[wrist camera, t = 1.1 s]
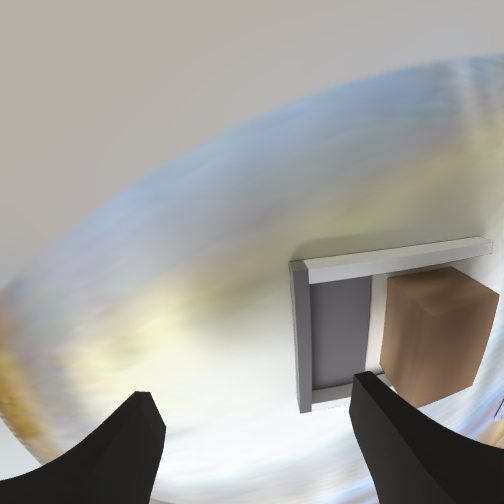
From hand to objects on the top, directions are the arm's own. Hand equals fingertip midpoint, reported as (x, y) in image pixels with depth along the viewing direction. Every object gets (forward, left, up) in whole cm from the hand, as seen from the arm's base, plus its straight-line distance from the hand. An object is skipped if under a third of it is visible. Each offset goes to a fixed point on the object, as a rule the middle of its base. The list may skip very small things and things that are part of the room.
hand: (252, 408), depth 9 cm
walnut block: (-9, 0, -4) cm, 10 cm away
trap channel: (-8, 0, -4) cm, 9 cm away
